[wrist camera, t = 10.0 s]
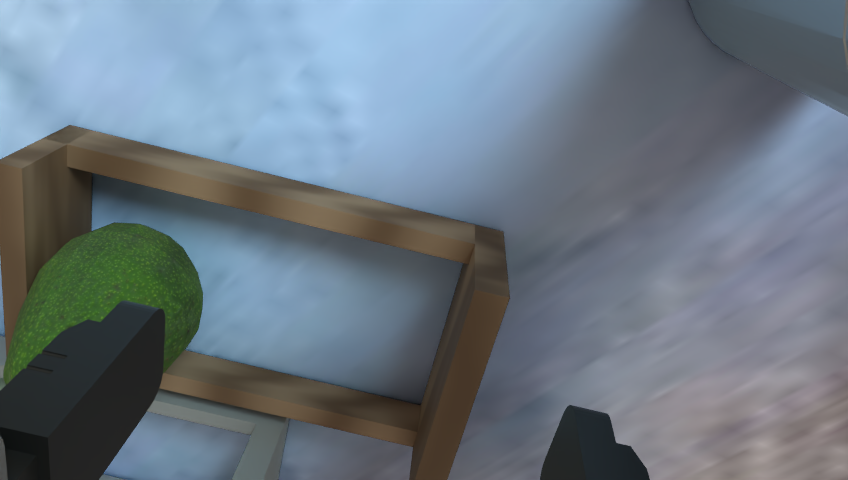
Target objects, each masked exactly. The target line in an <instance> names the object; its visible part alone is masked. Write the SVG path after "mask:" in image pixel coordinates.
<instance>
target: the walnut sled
mask: <svg viewBox="0 0 848 480" xmlns="http://www.w3.org/2000/svg"><path fill="white" fill-rule="evenodd" d="M92 173H95V174H100V175H104V176H108V177H112V178H116V179H120V180H124V181H128V182H132V183H136V184H141V185H145V186H149V187H153V188H157V189H161V190H165V191H169V192H173V193H178V194H182V195H186V196H190V197H194V198H198V199H202V200H206V201H210V202H215V203H219V204H223V205H227V206H231V207H235V208H239V209H243V210H247V211H251V212H256V213H260V214H264V215H268V216H272V217H276V218H280V219H284V220H288V221H293V222H297V223H301V224H305V225H309V226H313V227H317V228H321V229H325V230H330V231H334V232H338V233H342V234H346V235H350V236H354V237H358V238H362V239H366V240H371V241H375V242H379V243H383V244H387V245H391V246H395V247H399V248H403V249H408V250H412V251H416V252H420V253H424V254H428V255H432V256H436V257H440V258H445V259H449V260H453V261H457V262H461V263H463V266H462V269H461V273H460V276H459V279H458V283H457V286H456V289H455V293H454V296H453V299H452V303H451V306H450V309H449V313H448V316H447V319H446V323H445V326H444V329H443V333H442V336H441V339H440V343H439V346H438V349H437V353H436V356H435V359H434V363H433V366H432V369H431V373H430V376H429V379H428V383H427V386H426V389H425V393H424V396H423V399H422V403H421V405H417V404H413V403H408V402H404V401H400V400H396V399H391V398H387V397H383V396H379V395H374V394H370V393H366V392H362V391H357V390H353V389H349V388H344V387H340V386H336V385H332V384H327V383H323V382H319V381H315V380H310V379H306V378H302V377H297V376H293V375H289V374H285V373H280V372H276V371H272V370H268V369H263V368H259V367H255V366H250V365H246V364H242V363H238V362H233V361H229V360H225V359H221V358H216V357H212V356H208V355H204V354H199V353H195V352H191V351H186V350H184V351H183V352H182V353H181V354H180V356H179V357H178V358H177V359H176V360H175V361H174V362H173V363H172V365H171V366H170V367H169V368H168V369H167V370H166V371H165V372H164V373H163V376H162V381H161V384H160V387H159V388H161V389H165V390H169V391H174V392H178V393H182V394H186V395H191V396H195V397H199V398H204V399H208V400H212V401H217V402H221V403H225V404H230V405H234V406H238V407H243V408H247V409H251V410H256V411H260V412H264V413H269V414H273V415H277V416H281V417H286V418H290V419H294V420H299V421H303V422H307V423H312V424H316V425H320V426H325V427H329V428H333V429H338V430H342V431H346V432H351V433H355V434H359V435H364V436H368V437H372V438H376V439H381V440H385V441H389V442H394V443H398V444H402V445H407V446H411V447H413V453H412V461H411V470H410V478H409V480H447V479H448V476H449V473H450V470H451V467H452V464H453V461H454V458H455V455H456V452H457V450H458V447H459V444H460V441H461V438H462V435H463V432H464V429H465V426H466V423H467V421H468V418H469V415H470V412H471V409H472V406H473V403H474V400H475V397H476V394H477V392H478V389H479V386H480V383H481V380H482V377H483V374H484V371H485V368H486V365H487V363H488V360H489V357H490V354H491V351H492V348H493V345H494V342H495V339H496V336H497V334H498V331H499V328H500V325H501V322H502V319H503V316H504V313H505V310H506V307H507V305H508V302H509V299H510V295H509V285H508V274H507V263H506V252H505V242H504V232H503V231H499V230H495V229H491V228H487V227H482V226H478V225H474V224H470V223H466V222H462V221H458V220H454V219H450V218H446V217H442V216H438V215H434V214H430V213H426V212H421V211H417V210H413V209H409V208H405V207H401V206H397V205H393V204H389V203H385V202H381V201H377V200H373V199H369V198H365V197H360V196H356V195H352V194H348V193H344V192H340V191H336V190H332V189H328V188H324V187H320V186H316V185H312V184H308V183H304V182H300V181H295V180H291V179H287V178H283V177H279V176H275V175H271V174H267V173H263V172H259V171H255V170H251V169H247V168H243V167H239V166H234V165H230V164H226V163H222V162H218V161H214V160H210V159H206V158H202V157H198V156H194V155H190V154H186V153H182V152H178V151H174V150H169V149H165V148H161V147H157V146H153V145H149V144H145V143H141V142H137V141H133V140H129V139H125V138H121V137H117V136H113V135H108V134H104V133H100V132H96V131H92V130H88V129H84V128H80V127H76V126H72V125H69V126H67V127H65V128H63V129H61V130H59V131H57V132H55V133H53V134H51V135H49V136H47V137H45V138H43V139H41V140H39V141H37V142H35V143H33V144H31V145H29V146H27V147H24V148H22V149H20V150H18V151H16V152H14V153H12V154H10V155H8V156H6V157H4V158H2V159H0V257H1V273H2V290H3V307H4V324H5V341H6V358H7V354H8V350H9V346H10V343H11V339H12V336H13V332H14V328H15V325H16V321H17V318H18V314H19V311H20V309H21V307H22V305H23V303H24V301H25V299H26V297H27V294H28V292H29V290H30V288H31V286H32V284H33V282H34V280H35V278H36V276H37V274H38V272H39V270H40V269H41V268H42V267H43V266H44V265H45V264H46V263H47V262H48V261H49V260H50V259H51V258H52V257H53V256H54V255H55V254H56V253H57V252H58V251H59V250H60V249H61V248H62V247H63V246H64V245H65V244H66V243H67V242H69V241H70V240H71V239H73V238H76V237H78V236H81V235H83V234H86V233H89V232H91V220H92Z"/></svg>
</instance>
